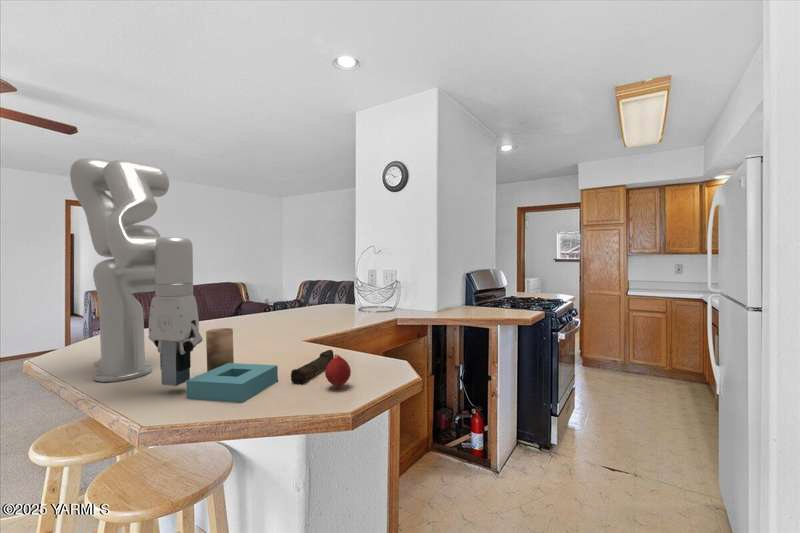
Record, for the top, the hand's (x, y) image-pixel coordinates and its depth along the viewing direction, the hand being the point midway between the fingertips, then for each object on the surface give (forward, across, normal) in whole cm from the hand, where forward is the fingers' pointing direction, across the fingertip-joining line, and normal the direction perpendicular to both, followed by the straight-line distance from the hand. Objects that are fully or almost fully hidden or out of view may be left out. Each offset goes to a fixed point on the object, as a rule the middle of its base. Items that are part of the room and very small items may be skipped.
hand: (175, 368), depth 86 cm
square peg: (+3, 0, 0) cm, 3 cm away
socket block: (+5, +13, +4) cm, 14 cm away
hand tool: (+5, +26, +19) cm, 33 cm away
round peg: (+6, +2, +13) cm, 14 cm away
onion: (+5, +37, +9) cm, 38 cm away
